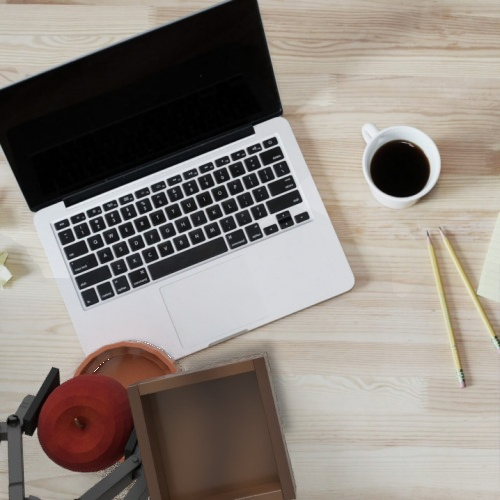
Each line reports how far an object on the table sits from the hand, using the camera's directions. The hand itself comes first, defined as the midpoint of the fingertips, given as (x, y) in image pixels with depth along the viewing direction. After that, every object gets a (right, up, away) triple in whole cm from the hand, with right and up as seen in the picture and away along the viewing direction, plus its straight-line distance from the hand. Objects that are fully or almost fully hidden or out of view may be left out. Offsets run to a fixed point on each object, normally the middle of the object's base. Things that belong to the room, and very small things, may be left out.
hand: (103, 389), depth 73 cm
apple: (-1, -3, +4) cm, 5 cm away
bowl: (0, -4, +15) cm, 16 cm away
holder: (+12, -2, -9) cm, 15 cm away
